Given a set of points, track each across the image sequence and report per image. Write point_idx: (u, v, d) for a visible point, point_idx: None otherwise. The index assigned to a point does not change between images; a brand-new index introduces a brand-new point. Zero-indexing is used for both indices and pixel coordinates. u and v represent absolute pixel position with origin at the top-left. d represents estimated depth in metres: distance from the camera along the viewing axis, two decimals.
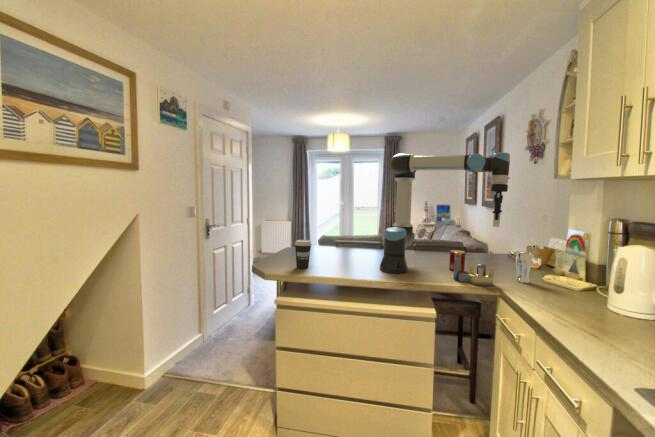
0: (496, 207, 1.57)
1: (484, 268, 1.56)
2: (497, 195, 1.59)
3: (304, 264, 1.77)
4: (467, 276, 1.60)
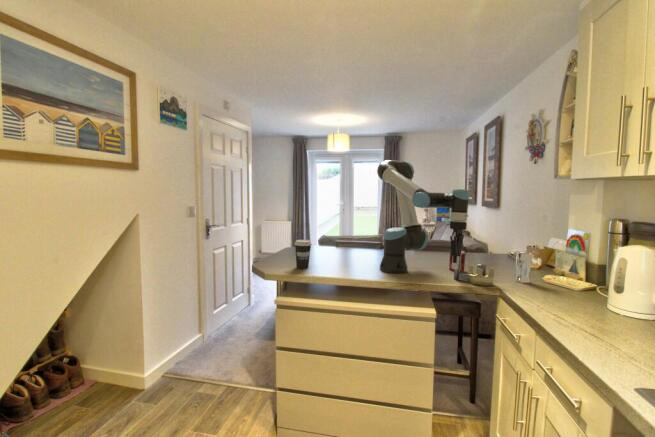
0: (452, 251, 1.56)
1: (484, 268, 1.56)
2: (452, 239, 1.54)
3: (304, 264, 1.77)
4: (467, 276, 1.61)
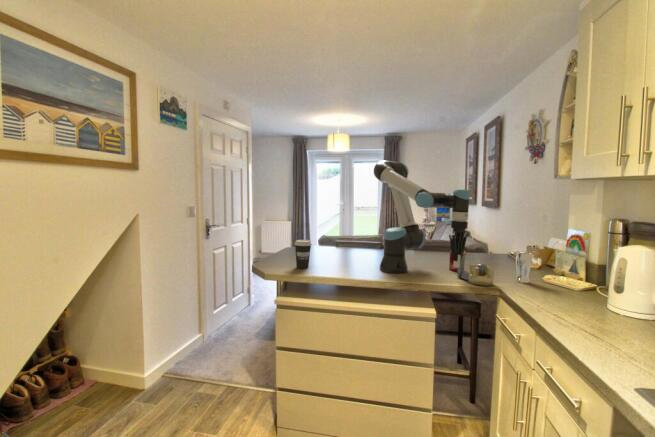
0: (452, 249, 1.61)
1: (482, 268, 1.56)
2: (450, 237, 1.59)
3: (304, 264, 1.77)
4: (468, 275, 1.63)
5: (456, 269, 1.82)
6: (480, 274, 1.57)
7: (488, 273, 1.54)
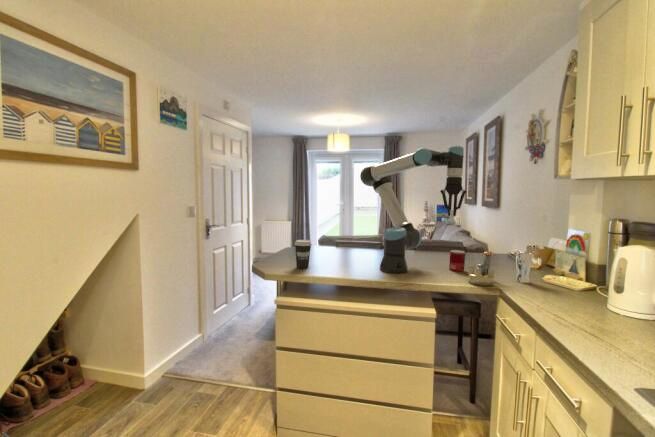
0: None
1: (477, 267, 1.58)
2: (441, 192, 1.72)
3: (304, 264, 1.77)
4: None
5: (456, 269, 1.82)
6: None
7: None
